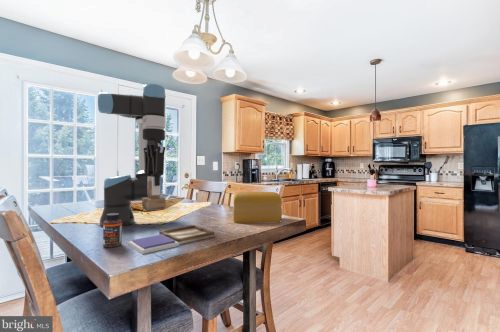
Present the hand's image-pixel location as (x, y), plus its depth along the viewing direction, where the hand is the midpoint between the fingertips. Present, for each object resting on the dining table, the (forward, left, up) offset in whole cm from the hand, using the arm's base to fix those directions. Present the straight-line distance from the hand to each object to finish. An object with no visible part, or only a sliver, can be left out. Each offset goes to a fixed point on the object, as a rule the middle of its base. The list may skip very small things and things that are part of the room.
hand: (153, 194), depth 94 cm
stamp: (0, 0, -5) cm, 5 cm away
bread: (-6, +58, -19) cm, 61 cm away
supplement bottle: (-10, -11, -19) cm, 24 cm away
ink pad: (0, 0, -18) cm, 18 cm away
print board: (-3, +15, -18) cm, 24 cm away
